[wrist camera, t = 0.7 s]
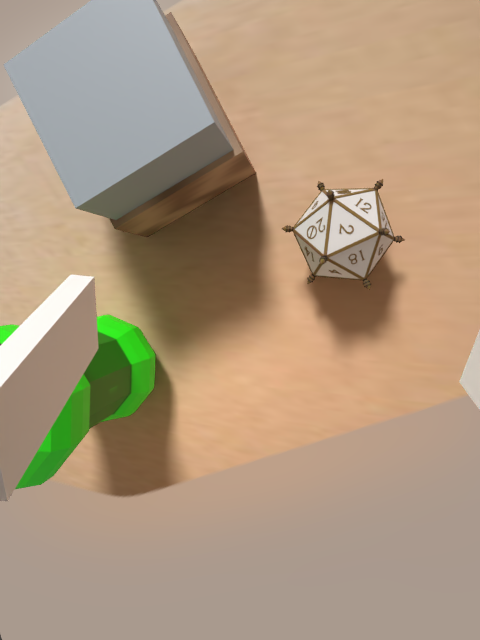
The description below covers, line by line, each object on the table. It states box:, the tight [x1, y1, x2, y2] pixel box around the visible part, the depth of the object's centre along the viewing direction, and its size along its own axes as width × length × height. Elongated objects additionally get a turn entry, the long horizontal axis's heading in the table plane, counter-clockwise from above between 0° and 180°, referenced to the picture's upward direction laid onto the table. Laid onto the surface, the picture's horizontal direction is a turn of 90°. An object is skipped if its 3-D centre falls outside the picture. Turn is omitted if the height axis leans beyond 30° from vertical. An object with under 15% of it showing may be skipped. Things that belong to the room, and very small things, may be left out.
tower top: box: [4, 0, 233, 220], centre depth 32 cm, size 11×11×6 cm
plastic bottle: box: [0, 315, 156, 489], centre depth 32 cm, size 10×10×25 cm
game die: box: [282, 179, 405, 290], centre depth 35 cm, size 9×8×10 cm
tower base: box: [110, 12, 256, 237], centre depth 38 cm, size 12×12×7 cm
